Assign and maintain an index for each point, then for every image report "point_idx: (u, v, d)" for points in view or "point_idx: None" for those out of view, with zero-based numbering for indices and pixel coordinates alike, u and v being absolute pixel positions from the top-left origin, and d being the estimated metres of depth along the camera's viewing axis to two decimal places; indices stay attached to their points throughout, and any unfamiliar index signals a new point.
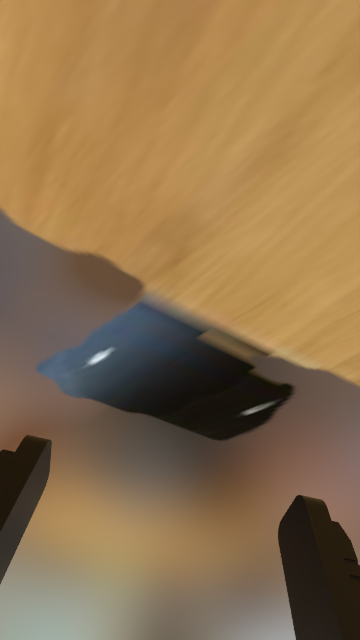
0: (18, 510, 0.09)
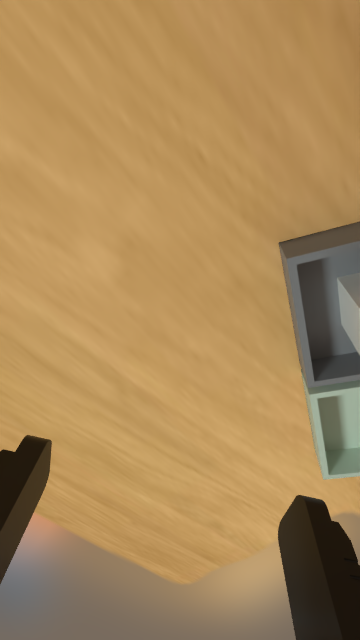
0: (18, 510, 0.09)
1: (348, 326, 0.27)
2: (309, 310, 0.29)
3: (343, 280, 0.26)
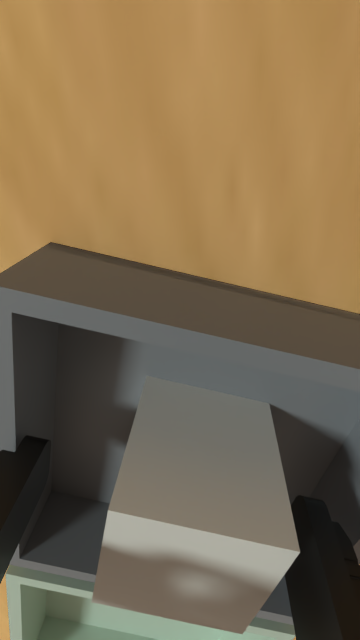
0: (18, 510, 0.09)
1: None
2: (77, 411, 0.13)
3: (151, 389, 0.11)
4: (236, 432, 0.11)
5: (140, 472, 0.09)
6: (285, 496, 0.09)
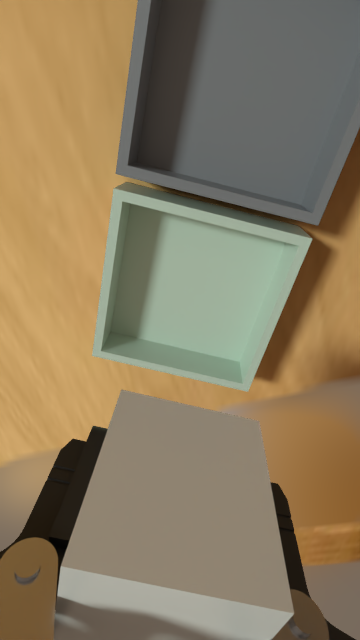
0: None
1: None
2: (167, 67, 0.19)
3: (125, 406, 0.10)
4: (221, 457, 0.09)
5: (105, 513, 0.07)
6: (276, 537, 0.08)
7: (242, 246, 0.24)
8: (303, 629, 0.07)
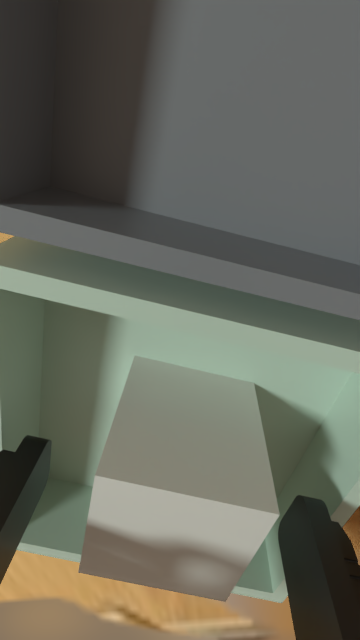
0: (18, 510, 0.09)
1: None
2: None
3: (138, 368, 0.12)
4: (221, 408, 0.11)
5: (127, 442, 0.09)
6: (266, 465, 0.09)
7: None
8: None
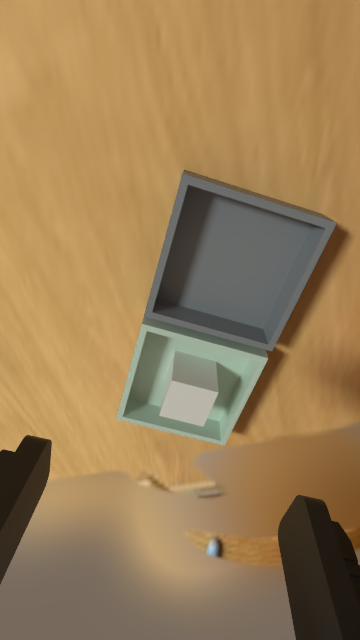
0: (18, 510, 0.09)
1: (164, 387, 0.35)
2: (179, 249, 0.30)
3: (177, 354, 0.35)
4: (204, 368, 0.34)
5: (177, 374, 0.32)
6: (216, 382, 0.32)
7: None
8: None
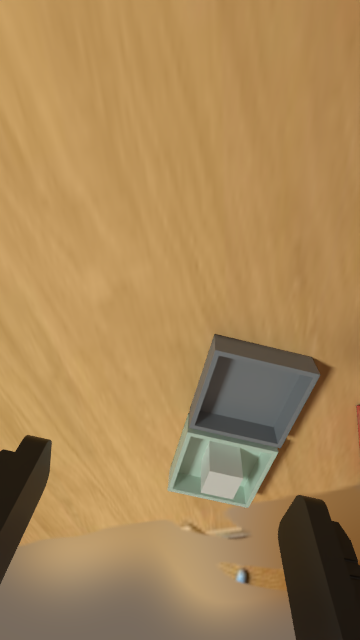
0: (18, 510, 0.09)
1: (203, 468, 0.48)
2: (212, 380, 0.43)
3: (211, 445, 0.47)
4: (231, 455, 0.47)
5: (213, 464, 0.45)
6: (241, 469, 0.45)
7: None
8: None
